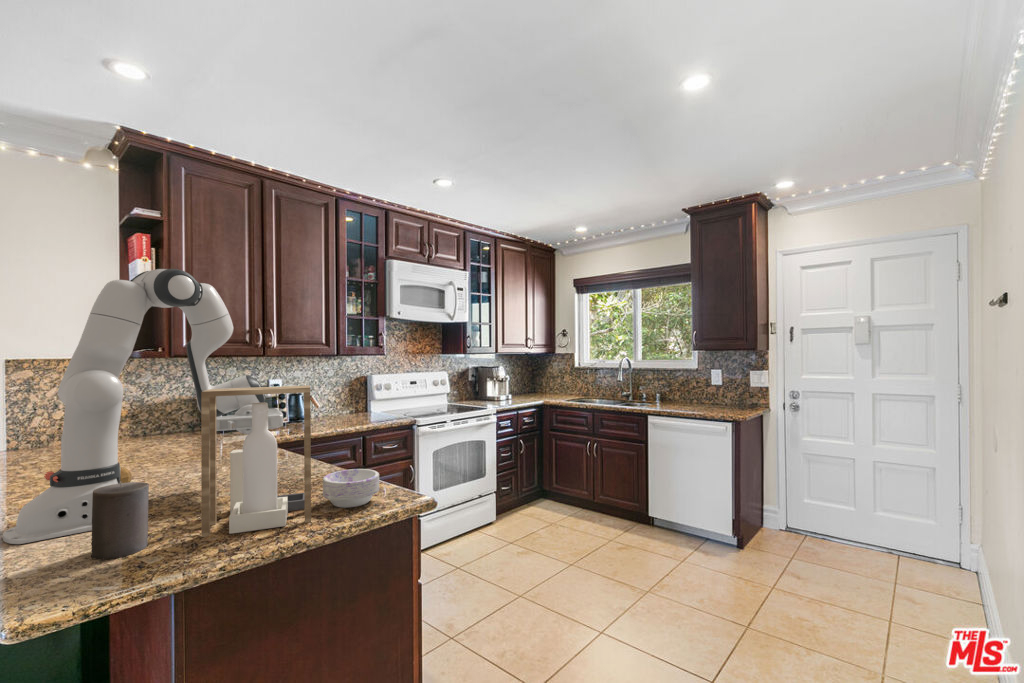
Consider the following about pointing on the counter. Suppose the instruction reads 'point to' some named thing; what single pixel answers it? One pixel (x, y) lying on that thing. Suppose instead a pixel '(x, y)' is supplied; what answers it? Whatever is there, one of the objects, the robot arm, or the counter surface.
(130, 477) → the potato
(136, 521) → the pillar candle
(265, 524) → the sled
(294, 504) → the tray
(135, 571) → the counter surface
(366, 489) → the paper bowls
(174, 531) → the counter surface
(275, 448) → the bottle
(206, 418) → the oak shelf bridge
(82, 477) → the robot arm
